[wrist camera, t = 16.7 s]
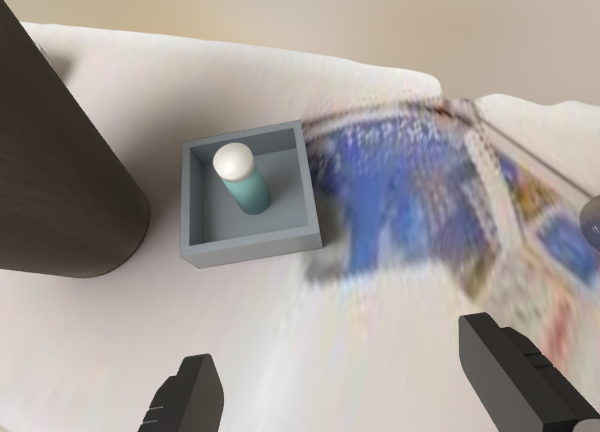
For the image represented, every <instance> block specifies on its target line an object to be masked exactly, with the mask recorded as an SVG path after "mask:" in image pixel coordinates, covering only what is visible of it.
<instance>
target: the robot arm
mask: <svg viewBox="0 0 600 432" xmlns="http://www.w3.org/2000/svg"><path fill="white" fill-rule="evenodd" d="M580 223H581V228H582V230H583V233H584V235H585V236H586V238H587V239H588V241H589V242H590V243H591V244H592V245H593V246H594V247H595V248H597V249H598V250H599V251H600V195H598V196H597V197H595V198H594V199H593V200H591V201H590V202H588V203H587V204H586V205H585V206H584V208H583V210H582V212H581V216H580ZM459 356H460V361H461V365H462V368H463V370H464V373H465V375H466V376H467V378H468V380H469V382H470V383H471V385H472V387H473V388H474V390H475V392H476V393H477V395H478V397H479V398H480V400H481V402H482V404H483V405H484V407H485V409H486V410H487V412H488V414H489V415H490V417H491V419H492V420H493V422H494V424H495V425H496V427H497V429H498V430H499V432H600V414H599V413H598V412H597V411H596V410H595V409H594V408H593V407H592V406H591V405H590V404H589V403H588V402H587V401H586V399H585V398H584V397H583V396H582V395H581V394H580V393H579V392H578V391H577V390H576V389H575V388H574V387H573V386H572V384H571V383H570V382H569V381H568V380H567V379H566V378H565V377H564V376H563V375H562V374H561V373H560V372H559V371H558V370H557V368H556V367H555V368H554V367H553V364H552V363H551V362H550V361H549V360H548V359H547V358H546V357H545V356H544V355H542V354H541V351H540V350H539V349H538V348H537V347H536V346H535V345H534V344H533V343H532V342H531V341H530V340H529V339H528V338H527V337H526V336H524V335H522V334H521V333H519V332H517V331H516V330H514V329H512V328H511V327H505V328H500V327H499V326H498V324H497V323H496V322H495V321H494V320H493V319H492V317H491V316H490V315H489V314H488V313H486V312H483V313H476V314H470V315H463V316H460V317H459ZM223 406H224V393H223V388H222V385H221V382H220V379H219V376H218V373H217V370H216V368H215V365H214V362H213V359H212V357H211V355H210V354H201V355H195V356H188V357H185V358H184V359H183V361H182V364H181V366H180V368H179V371H178V373H177V375H176V376H170V377H169V378H168V379H167V380H166V381H165V382H164V383H163V385H162V386H161V387H160V388H159V389H158V390H157V392H156V394H155V396H154V398H153V400H152V402H151V405H150V407H149V411H147V413H146V415H145V417H144V419H143V424H142V425H141V426H140V428H139V430H138V432H218V429H219V424H220V420H221V416H222V412H223Z"/></svg>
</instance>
